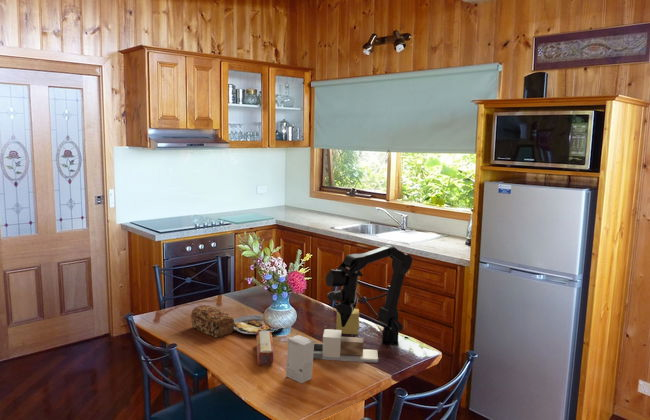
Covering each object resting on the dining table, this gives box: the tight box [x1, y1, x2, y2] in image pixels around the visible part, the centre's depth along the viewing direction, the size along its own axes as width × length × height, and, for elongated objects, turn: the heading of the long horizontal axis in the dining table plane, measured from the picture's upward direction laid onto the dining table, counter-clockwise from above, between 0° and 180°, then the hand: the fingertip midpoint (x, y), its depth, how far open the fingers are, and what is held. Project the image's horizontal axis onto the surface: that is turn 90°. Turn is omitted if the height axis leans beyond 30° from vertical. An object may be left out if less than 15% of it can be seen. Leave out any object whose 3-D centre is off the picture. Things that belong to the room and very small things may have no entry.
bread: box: [190, 304, 235, 338], centre depth 240 cm, size 19×11×10 cm, turn 48°
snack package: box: [255, 331, 275, 367], centre depth 216 cm, size 21×7×7 cm, turn 8°
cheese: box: [335, 307, 360, 335], centre depth 245 cm, size 10×11×10 cm
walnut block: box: [340, 336, 364, 356], centre depth 217 cm, size 14×5×6 cm, turn 86°
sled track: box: [313, 328, 379, 364], centre depth 217 cm, size 27×10×9 cm, turn 86°
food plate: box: [233, 314, 275, 336], centre depth 245 cm, size 25×23×4 cm
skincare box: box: [285, 334, 315, 384], centre depth 196 cm, size 8×6×15 cm
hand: (344, 323), depth 220 cm, fingers open, 9 cm apart
